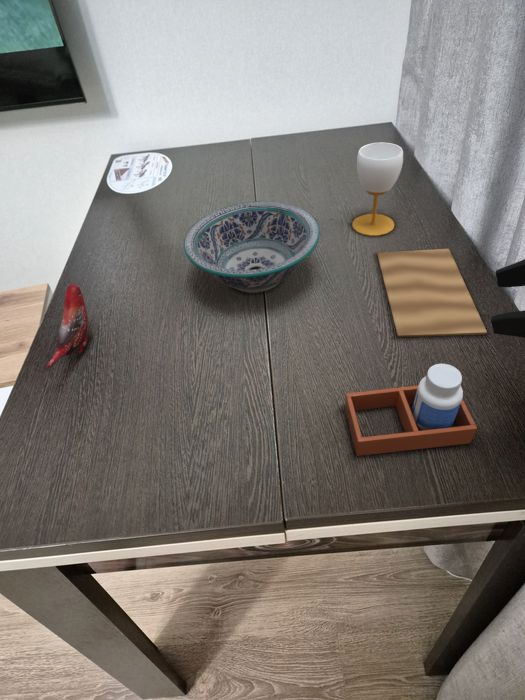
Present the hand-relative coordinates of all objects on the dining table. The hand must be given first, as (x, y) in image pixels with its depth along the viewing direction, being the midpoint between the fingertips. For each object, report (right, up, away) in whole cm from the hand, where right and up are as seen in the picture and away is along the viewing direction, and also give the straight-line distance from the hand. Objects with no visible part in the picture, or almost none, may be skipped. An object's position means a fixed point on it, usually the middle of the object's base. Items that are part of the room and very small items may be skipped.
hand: (494, 301), depth 49 cm
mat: (+4, +5, +30) cm, 31 cm away
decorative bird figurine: (-58, -6, +27) cm, 64 cm away
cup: (-2, +22, +47) cm, 52 cm away
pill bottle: (-3, -15, +11) cm, 19 cm away
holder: (-7, -16, +11) cm, 20 cm away
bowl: (-27, +9, +38) cm, 48 cm away
